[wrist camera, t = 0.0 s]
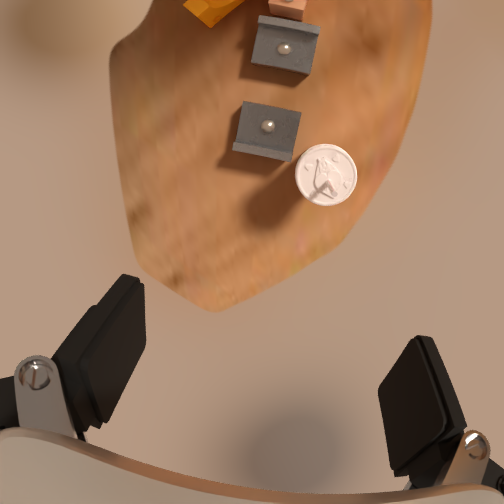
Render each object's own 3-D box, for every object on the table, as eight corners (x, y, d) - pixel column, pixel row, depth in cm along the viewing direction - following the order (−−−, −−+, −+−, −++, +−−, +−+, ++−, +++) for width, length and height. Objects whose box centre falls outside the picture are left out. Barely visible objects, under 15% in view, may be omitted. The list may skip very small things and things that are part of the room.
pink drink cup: (302, 188, 40) (309, 230, 28) (286, 143, 38) (285, 164, 26) (347, 174, 39) (375, 210, 26) (333, 129, 36) (357, 143, 24)
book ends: (261, 23, 31) (259, 15, 27) (317, 34, 31) (320, 26, 27) (237, 145, 39) (232, 150, 35) (290, 156, 39) (290, 162, 35)
